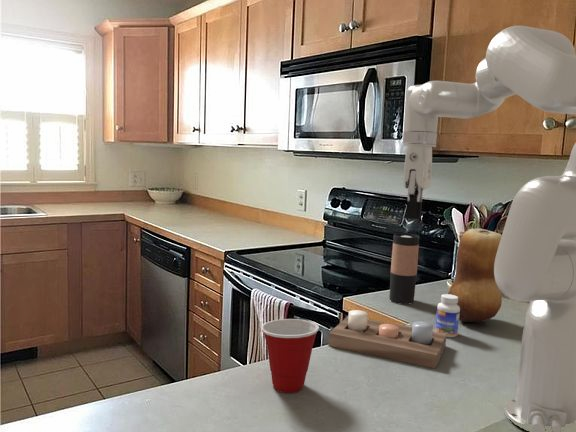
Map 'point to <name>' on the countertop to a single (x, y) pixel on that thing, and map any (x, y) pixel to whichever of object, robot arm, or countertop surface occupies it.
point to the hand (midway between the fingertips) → (413, 218)
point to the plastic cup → (289, 351)
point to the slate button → (422, 333)
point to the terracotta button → (388, 330)
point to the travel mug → (404, 267)
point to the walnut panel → (389, 343)
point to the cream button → (357, 321)
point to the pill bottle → (448, 315)
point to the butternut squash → (477, 276)
